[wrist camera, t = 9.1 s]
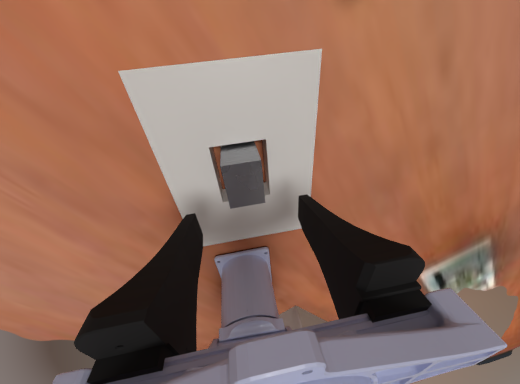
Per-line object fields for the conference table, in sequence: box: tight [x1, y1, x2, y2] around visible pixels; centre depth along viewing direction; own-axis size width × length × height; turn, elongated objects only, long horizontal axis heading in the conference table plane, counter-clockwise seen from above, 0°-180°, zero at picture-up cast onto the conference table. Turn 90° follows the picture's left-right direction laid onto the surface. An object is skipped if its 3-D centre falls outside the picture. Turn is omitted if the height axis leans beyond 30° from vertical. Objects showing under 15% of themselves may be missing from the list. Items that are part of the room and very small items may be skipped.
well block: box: [118, 49, 322, 246], centre depth 19 cm, size 18×14×2 cm
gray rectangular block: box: [220, 141, 265, 209], centre depth 18 cm, size 4×3×6 cm
